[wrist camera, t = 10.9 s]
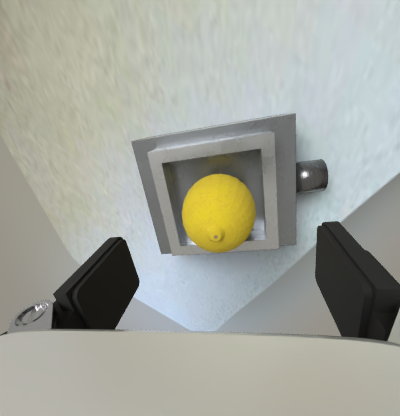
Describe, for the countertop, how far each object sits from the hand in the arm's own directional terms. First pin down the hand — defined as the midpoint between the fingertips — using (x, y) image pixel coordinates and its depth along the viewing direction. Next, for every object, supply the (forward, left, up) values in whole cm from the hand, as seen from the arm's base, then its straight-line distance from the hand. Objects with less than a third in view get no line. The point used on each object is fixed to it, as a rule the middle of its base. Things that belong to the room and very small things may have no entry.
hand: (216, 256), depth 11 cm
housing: (-1, 0, -15) cm, 16 cm away
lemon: (0, 0, -11) cm, 11 cm away
